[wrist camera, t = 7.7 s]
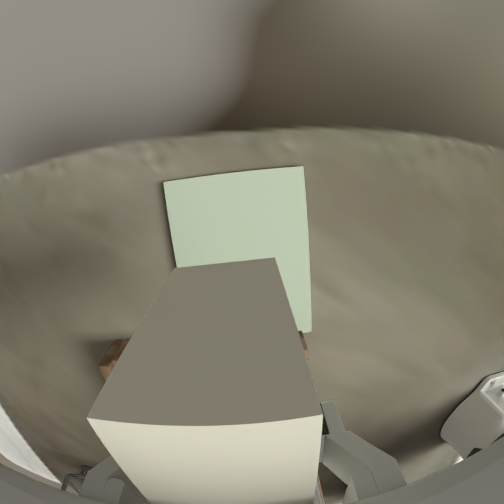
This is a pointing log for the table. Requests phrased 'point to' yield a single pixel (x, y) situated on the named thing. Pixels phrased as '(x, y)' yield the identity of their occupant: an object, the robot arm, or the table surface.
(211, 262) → the mat
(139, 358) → the white rectangular block
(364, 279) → the table surface
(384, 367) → the table surface
